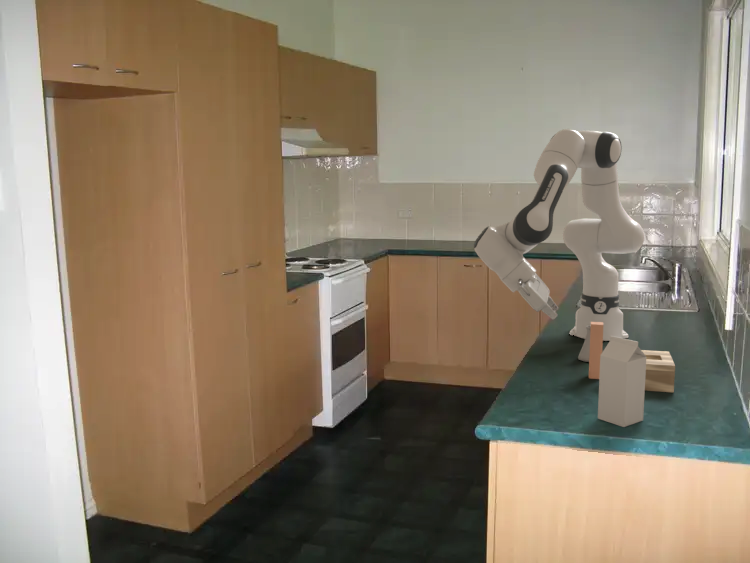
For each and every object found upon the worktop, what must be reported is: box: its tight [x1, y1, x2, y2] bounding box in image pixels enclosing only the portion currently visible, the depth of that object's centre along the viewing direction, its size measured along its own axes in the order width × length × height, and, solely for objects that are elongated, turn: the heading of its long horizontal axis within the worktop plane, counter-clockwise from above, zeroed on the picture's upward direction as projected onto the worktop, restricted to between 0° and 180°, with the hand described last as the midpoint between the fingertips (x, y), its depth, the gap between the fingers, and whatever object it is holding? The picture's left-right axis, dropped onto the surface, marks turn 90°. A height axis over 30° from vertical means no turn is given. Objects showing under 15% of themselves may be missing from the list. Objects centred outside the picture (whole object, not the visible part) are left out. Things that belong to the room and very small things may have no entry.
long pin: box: [588, 322, 604, 380], centre depth 199 cm, size 3×3×15 cm
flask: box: [577, 326, 591, 363], centre depth 216 cm, size 7×7×10 cm
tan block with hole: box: [640, 349, 676, 393], centre depth 194 cm, size 14×10×7 cm
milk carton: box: [597, 336, 646, 428], centre depth 166 cm, size 7×7×19 cm
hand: (556, 313), depth 200 cm, fingers open, 8 cm apart
